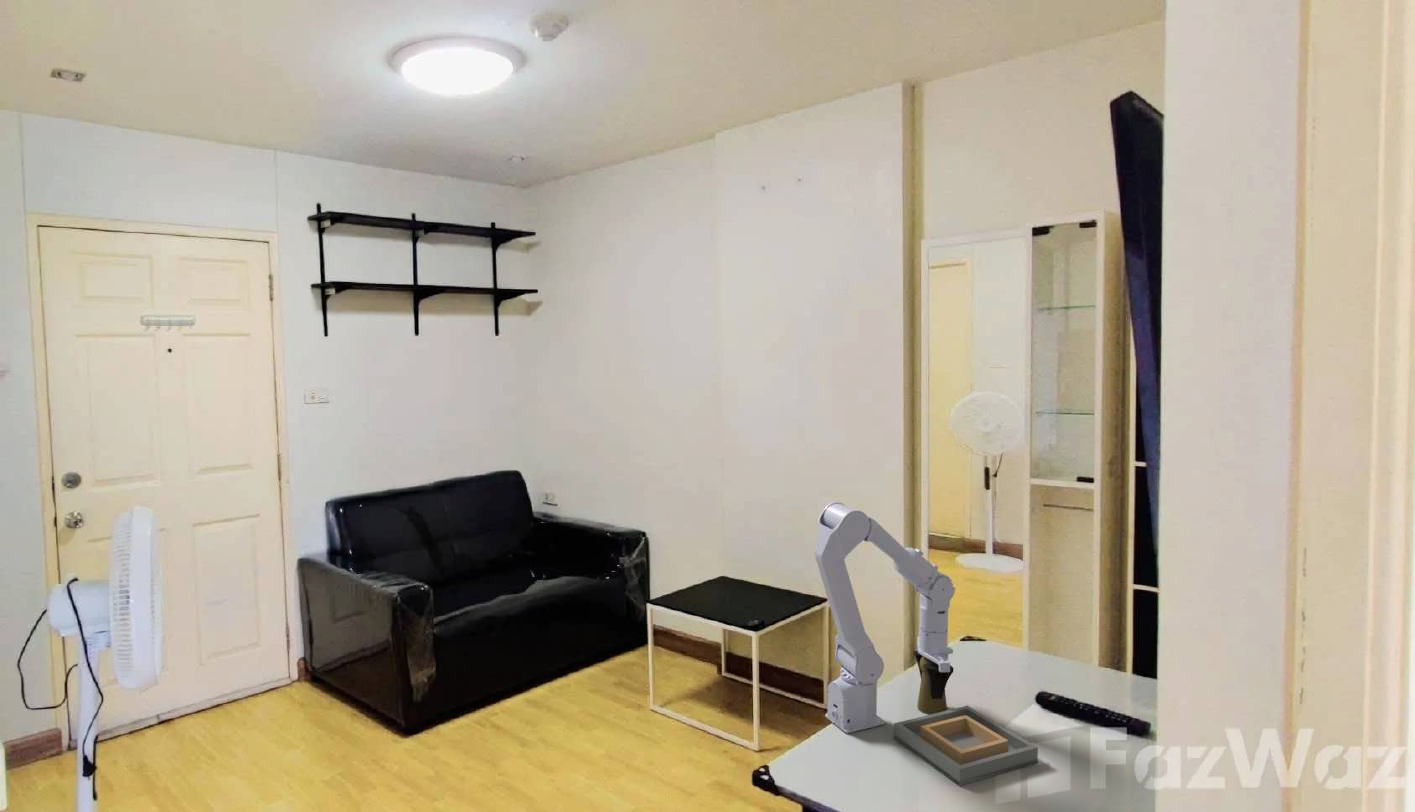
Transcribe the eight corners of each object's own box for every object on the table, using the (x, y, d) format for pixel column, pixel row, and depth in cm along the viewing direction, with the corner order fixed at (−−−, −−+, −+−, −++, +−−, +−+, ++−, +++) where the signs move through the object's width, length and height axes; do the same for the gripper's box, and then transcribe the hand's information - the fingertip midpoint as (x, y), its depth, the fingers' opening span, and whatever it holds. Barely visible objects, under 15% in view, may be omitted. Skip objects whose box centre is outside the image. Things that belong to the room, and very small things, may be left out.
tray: (959, 786, 134) (959, 767, 133) (894, 738, 150) (894, 721, 150) (1037, 763, 141) (1037, 745, 141) (967, 720, 157) (967, 704, 157)
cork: (911, 704, 164) (912, 653, 164) (936, 700, 166) (937, 649, 165) (927, 716, 159) (928, 664, 158) (953, 712, 160) (954, 660, 160)
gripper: (965, 641, 154) (964, 707, 155) (940, 616, 169) (939, 677, 170) (930, 641, 154) (929, 708, 155) (908, 616, 168) (907, 677, 169)
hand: (932, 692), depth 162 cm, fingers closed on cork, 5 cm apart
